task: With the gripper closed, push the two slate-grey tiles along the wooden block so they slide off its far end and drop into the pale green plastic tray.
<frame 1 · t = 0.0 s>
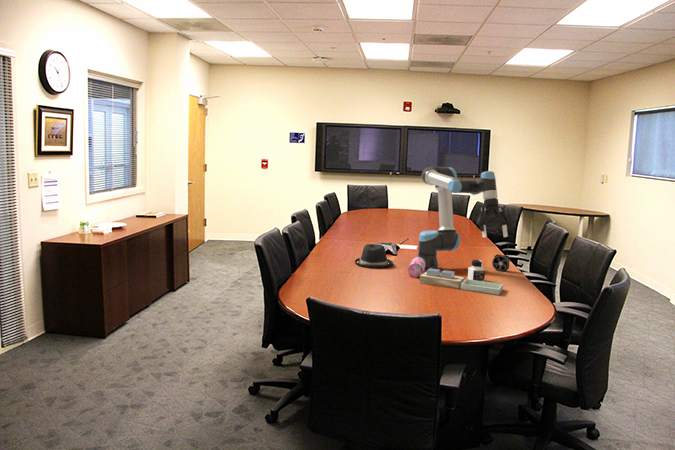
hand: (495, 237, 280), 28 cm above the table, tool tilted 20°, fingers open, 13 cm apart
pencil case: (416, 274, 308), on the table
tray: (481, 289, 277), on the table
wooden block: (441, 283, 287), on the table
fedora: (373, 264, 331), on the table
tile rear: (433, 275, 289), point 4 cm above the table, touching wooden block
medicine bottle: (475, 280, 297), on the table
cpu cooler: (500, 270, 327), on the table
tile front: (447, 277, 285), point 4 cm above the table, touching wooden block
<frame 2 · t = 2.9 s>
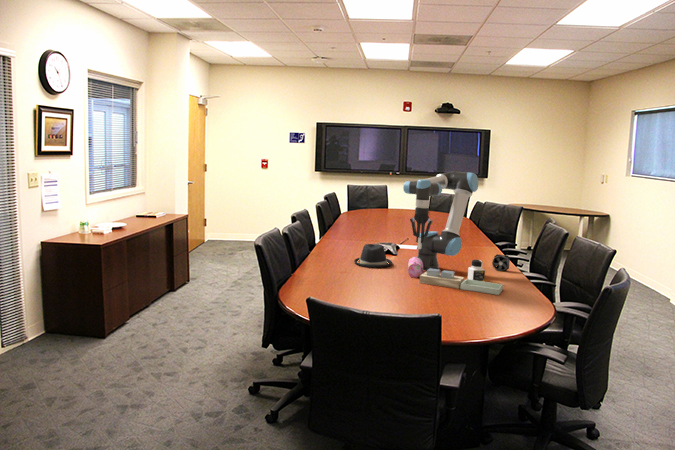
hand: (419, 248, 290), 18 cm above the table, tool pointing down, fingers closed
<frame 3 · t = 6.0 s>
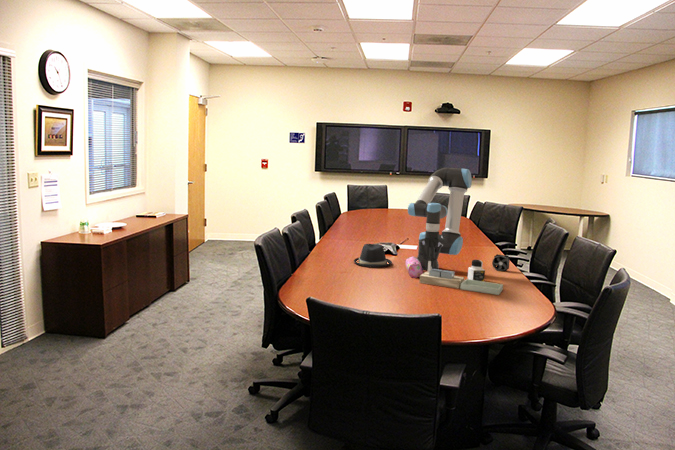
hand: (429, 272, 289), 6 cm above the table, tool pointing down, fingers closed
tile rear: (435, 275, 288), point 4 cm above the table, touching wooden block, gripper
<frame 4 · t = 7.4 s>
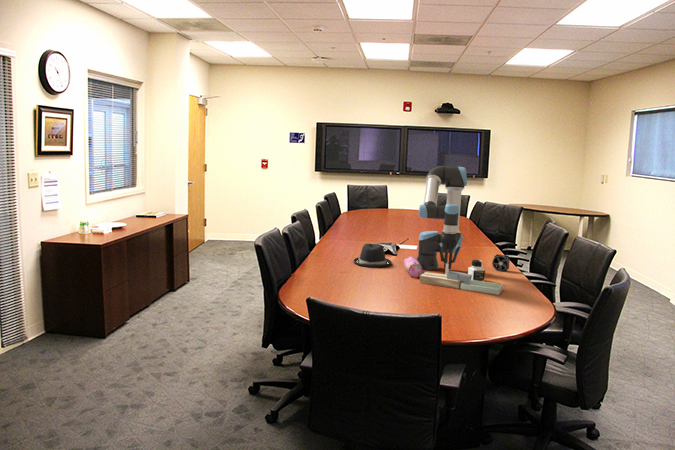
hand: (447, 274, 285), 6 cm above the table, tool pointing down, fingers closed
tile rear: (453, 278, 283), point 4 cm above the table, touching gripper
tile front: (464, 279, 281), point 4 cm above the table, touching wooden block
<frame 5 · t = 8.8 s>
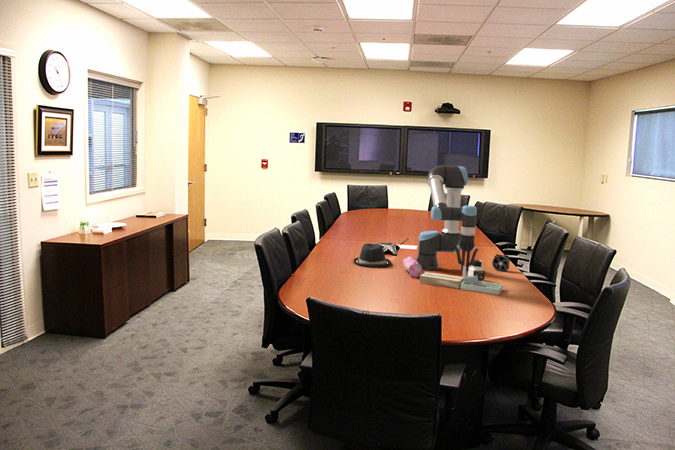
hand: (464, 276, 281), 6 cm above the table, tool pointing down, fingers closed
tile rear: (471, 282, 279), point 3 cm above the table, tilted 10°, touching gripper, tile front
tile front: (479, 283, 277), point 3 cm above the table, tilted 180°, touching tile rear, tray
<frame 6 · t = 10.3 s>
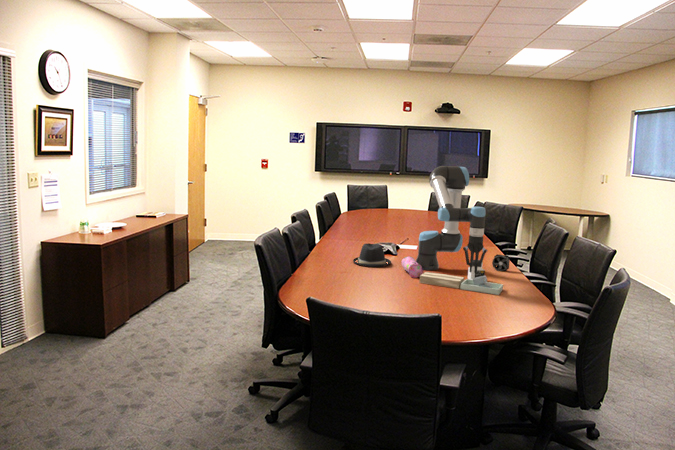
hand: (472, 278, 279), 5 cm above the table, tool pointing down, fingers closed
tile rear: (480, 282, 277), point 4 cm above the table, tilted 20°, touching gripper, tile front
tile front: (485, 283, 276), point 3 cm above the table, tilted 180°, touching tile rear, tray
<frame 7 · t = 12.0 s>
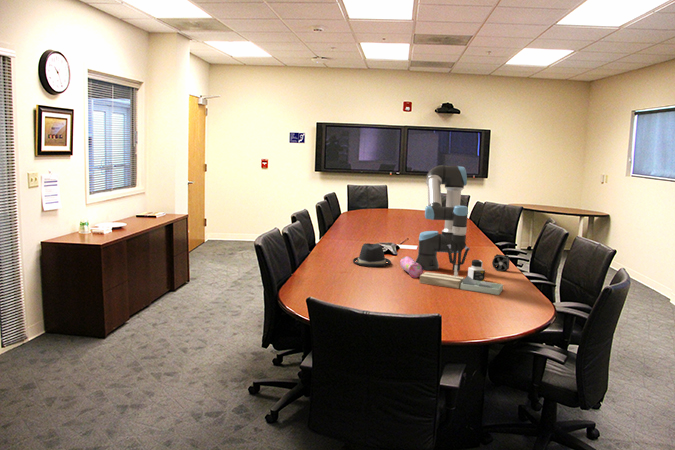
hand: (455, 276, 283), 5 cm above the table, tool pointing down, fingers closed
tile rear: (471, 279, 279), point 5 cm above the table, tilted 153°, touching tray
tile front: (485, 283, 276), point 3 cm above the table, tilted 180°, touching tray
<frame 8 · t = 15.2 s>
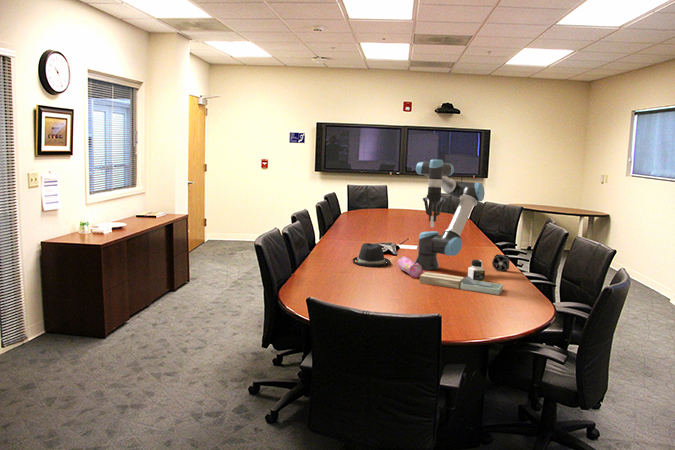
hand: (432, 227, 298), 29 cm above the table, tool pointing down, fingers closed
at the end: tile front inside the target area on the tray (2.0 cm from its centre), point 3.5 cm above the tray's base; tile rear inside the target area on the tray (5.8 cm from its centre), point 4.5 cm above the tray's base; tile rear touching tray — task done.
